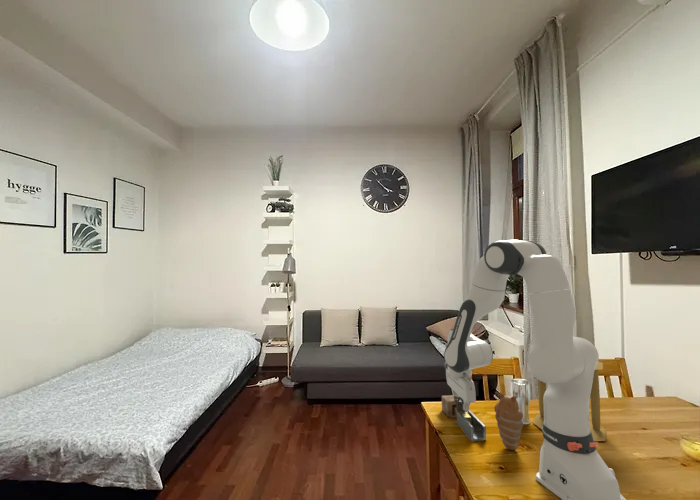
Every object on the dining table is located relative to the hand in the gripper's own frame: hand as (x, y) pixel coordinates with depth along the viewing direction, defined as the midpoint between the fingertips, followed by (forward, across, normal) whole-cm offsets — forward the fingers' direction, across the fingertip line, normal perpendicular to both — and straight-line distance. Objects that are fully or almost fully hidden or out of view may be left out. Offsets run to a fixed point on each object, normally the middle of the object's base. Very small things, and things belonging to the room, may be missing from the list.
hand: (460, 405), depth 133 cm
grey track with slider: (+6, -8, 0) cm, 10 cm away
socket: (+6, +7, 0) cm, 9 cm away
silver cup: (+6, -2, -23) cm, 24 cm away
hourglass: (+6, -9, -37) cm, 39 cm away
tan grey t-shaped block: (+5, +1, 0) cm, 5 cm away
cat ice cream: (+6, -21, -8) cm, 23 cm away
